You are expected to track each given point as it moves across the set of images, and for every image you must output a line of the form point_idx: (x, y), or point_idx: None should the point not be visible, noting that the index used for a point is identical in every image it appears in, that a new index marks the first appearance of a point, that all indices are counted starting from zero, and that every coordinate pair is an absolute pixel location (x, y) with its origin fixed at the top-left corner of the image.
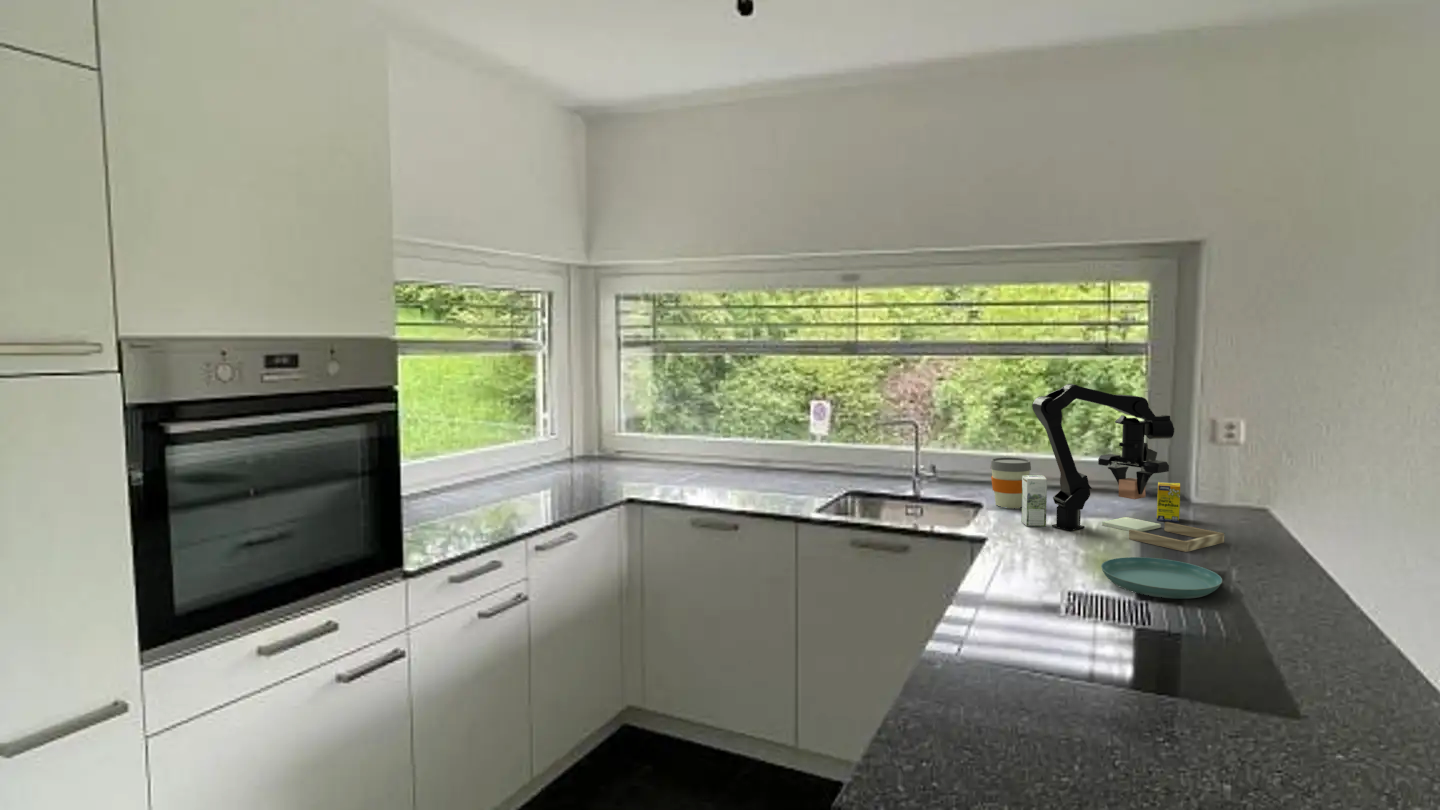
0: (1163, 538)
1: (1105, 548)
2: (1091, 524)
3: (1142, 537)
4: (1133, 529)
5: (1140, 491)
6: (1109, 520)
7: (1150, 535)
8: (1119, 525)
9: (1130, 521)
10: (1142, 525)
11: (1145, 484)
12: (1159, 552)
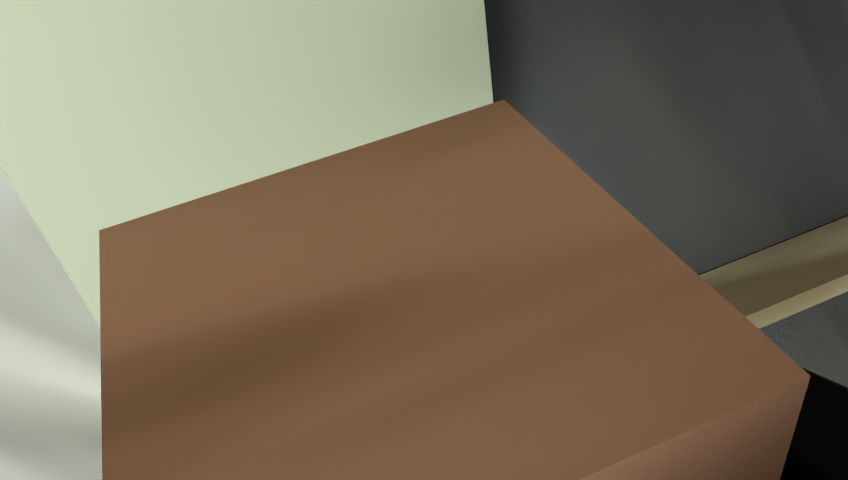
0: (842, 287)
1: None
2: (49, 394)
3: None
4: None
5: None
6: (61, 254)
7: (761, 321)
8: None
9: (185, 50)
10: (415, 58)
11: (809, 398)
12: (820, 328)
